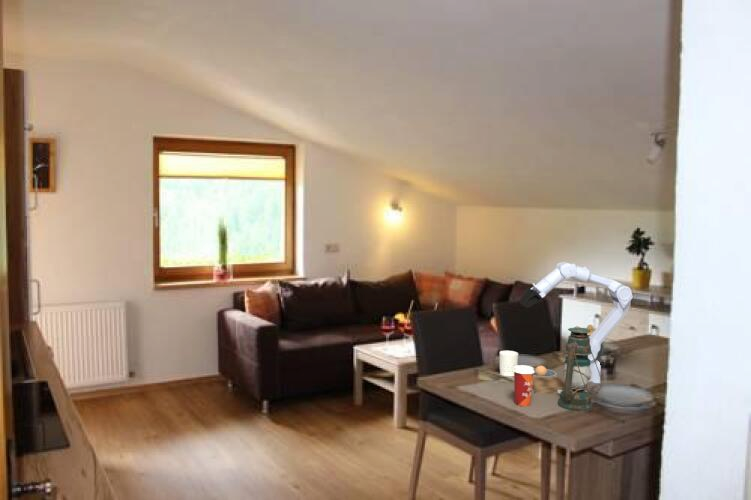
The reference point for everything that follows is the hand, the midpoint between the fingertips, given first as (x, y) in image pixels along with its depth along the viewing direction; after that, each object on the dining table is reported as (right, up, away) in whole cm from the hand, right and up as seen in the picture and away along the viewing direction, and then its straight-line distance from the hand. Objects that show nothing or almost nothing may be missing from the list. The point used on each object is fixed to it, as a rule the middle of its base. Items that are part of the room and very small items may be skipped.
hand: (522, 304), depth 275 cm
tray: (+8, -33, -7) cm, 35 cm away
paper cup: (-6, -35, -27) cm, 44 cm away
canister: (+38, -30, +34) cm, 59 cm away
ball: (+9, -31, +6) cm, 33 cm away
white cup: (-4, -31, +9) cm, 33 cm away
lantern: (+14, -36, -28) cm, 47 cm away
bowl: (+9, -32, +6) cm, 33 cm away
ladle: (+17, -34, -13) cm, 40 cm away
